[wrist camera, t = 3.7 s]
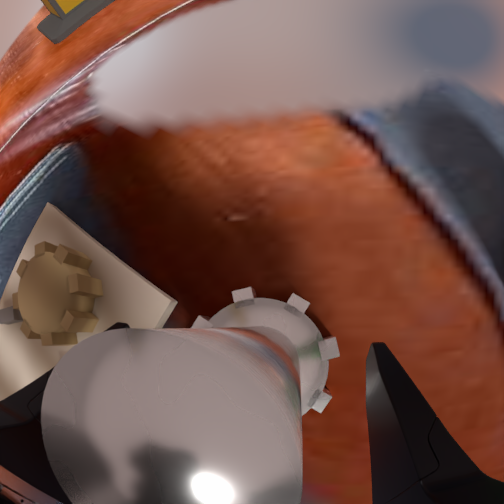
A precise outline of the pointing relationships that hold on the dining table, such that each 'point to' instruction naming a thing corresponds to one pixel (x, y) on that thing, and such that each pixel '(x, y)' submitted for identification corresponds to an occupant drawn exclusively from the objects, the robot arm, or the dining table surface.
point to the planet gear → (189, 408)
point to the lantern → (68, 16)
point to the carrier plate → (110, 308)
